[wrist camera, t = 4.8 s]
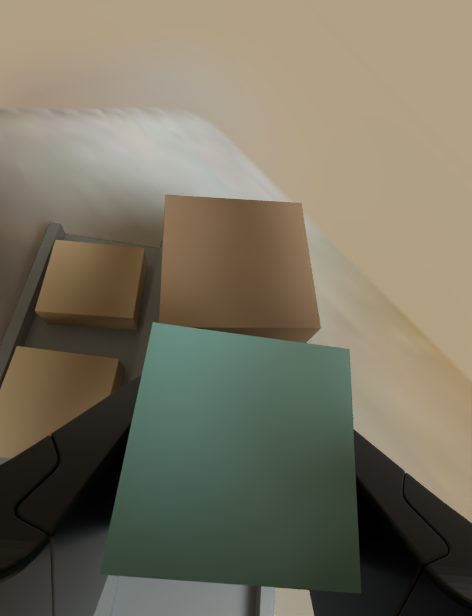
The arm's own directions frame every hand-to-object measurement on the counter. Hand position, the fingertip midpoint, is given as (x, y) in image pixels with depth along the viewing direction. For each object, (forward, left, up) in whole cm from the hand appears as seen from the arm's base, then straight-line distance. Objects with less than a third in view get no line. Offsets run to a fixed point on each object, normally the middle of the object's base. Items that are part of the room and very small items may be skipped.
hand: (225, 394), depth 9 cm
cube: (+1, +4, -5) cm, 7 cm away
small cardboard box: (-5, +6, -7) cm, 10 cm away
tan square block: (-6, +1, -7) cm, 9 cm away
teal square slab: (0, +2, -7) cm, 7 cm away
